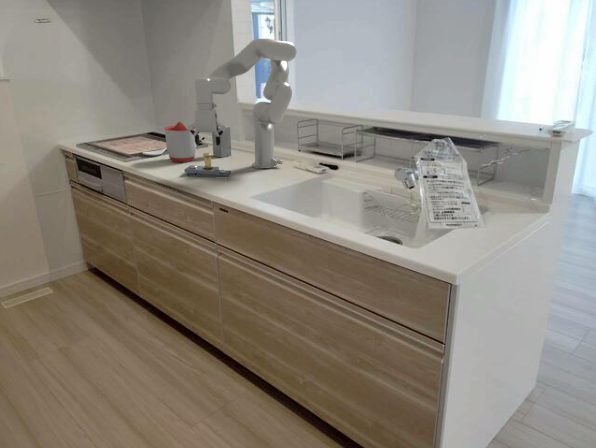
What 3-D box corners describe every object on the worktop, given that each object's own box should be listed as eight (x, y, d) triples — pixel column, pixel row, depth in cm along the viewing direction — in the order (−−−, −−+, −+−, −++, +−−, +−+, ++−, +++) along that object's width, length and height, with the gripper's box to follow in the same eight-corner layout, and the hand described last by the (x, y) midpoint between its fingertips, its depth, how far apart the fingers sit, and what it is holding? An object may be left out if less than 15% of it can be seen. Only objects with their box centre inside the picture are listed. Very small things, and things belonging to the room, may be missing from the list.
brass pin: (213, 173, 230) (212, 153, 227) (211, 176, 226) (210, 154, 223) (205, 173, 231) (204, 152, 227) (202, 175, 227) (201, 154, 224)
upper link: (219, 173, 232) (218, 165, 230) (213, 177, 224) (213, 169, 223) (190, 171, 234) (190, 163, 232) (184, 175, 226) (184, 167, 225)
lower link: (231, 173, 231) (231, 169, 230) (226, 178, 223) (226, 173, 223) (202, 172, 233) (202, 167, 232) (197, 176, 225) (196, 171, 225)
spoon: (197, 150, 282) (197, 144, 280) (148, 158, 259) (147, 152, 258) (188, 147, 287) (188, 142, 286) (139, 156, 265) (138, 149, 264)
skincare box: (221, 157, 262) (220, 128, 257) (212, 156, 266) (210, 126, 261) (232, 155, 269) (231, 126, 263) (223, 153, 273) (222, 125, 267)
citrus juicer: (203, 157, 263) (202, 119, 256) (188, 164, 247) (186, 124, 240) (177, 155, 267) (175, 118, 260) (161, 162, 251) (157, 122, 244)
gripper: (226, 105, 220) (228, 143, 226) (189, 105, 223) (192, 142, 229) (221, 108, 213) (223, 146, 219) (183, 107, 216) (187, 145, 222)
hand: (208, 144), depth 224 cm, fingers open, 9 cm apart
